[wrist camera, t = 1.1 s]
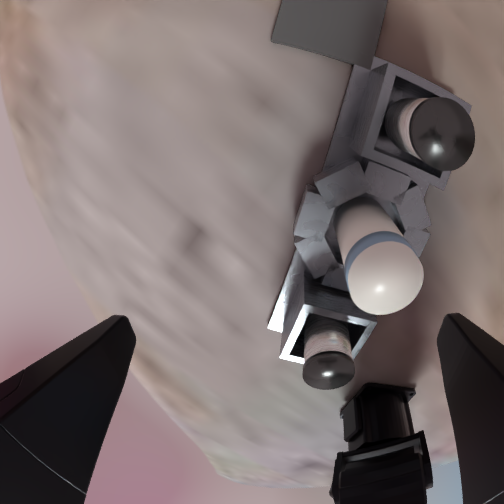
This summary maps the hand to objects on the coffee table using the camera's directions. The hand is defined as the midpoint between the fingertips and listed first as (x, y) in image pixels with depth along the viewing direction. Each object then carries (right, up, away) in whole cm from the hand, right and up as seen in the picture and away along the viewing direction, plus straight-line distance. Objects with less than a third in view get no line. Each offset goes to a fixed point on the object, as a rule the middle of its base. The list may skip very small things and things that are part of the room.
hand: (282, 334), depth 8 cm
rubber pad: (+4, +16, +5) cm, 18 cm away
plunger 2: (+8, +9, +6) cm, 13 cm away
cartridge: (+6, +4, +11) cm, 13 cm away
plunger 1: (+4, -3, +12) cm, 13 cm away
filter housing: (+6, +4, +11) cm, 14 cm away
